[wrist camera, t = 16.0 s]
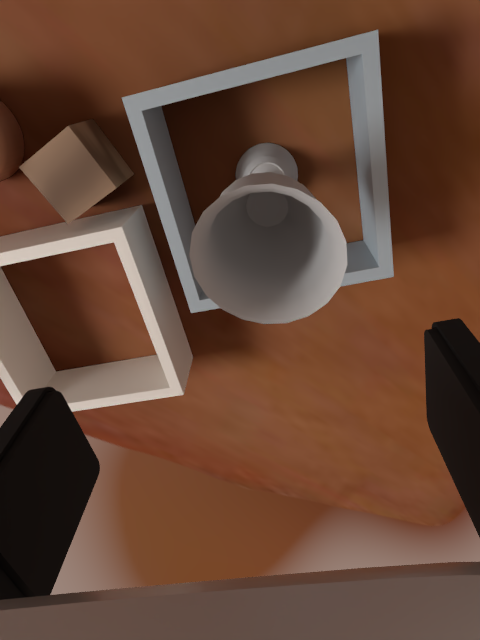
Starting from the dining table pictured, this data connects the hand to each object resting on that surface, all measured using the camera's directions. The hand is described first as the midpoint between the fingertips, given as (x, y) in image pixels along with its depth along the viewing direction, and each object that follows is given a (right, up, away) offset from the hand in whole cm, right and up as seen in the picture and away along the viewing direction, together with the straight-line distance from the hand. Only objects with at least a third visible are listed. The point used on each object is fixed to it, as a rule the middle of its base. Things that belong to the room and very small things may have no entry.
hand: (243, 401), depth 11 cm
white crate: (-14, +4, +31) cm, 35 cm away
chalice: (+2, +14, +25) cm, 28 cm away
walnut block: (-12, +15, +25) cm, 31 cm away
